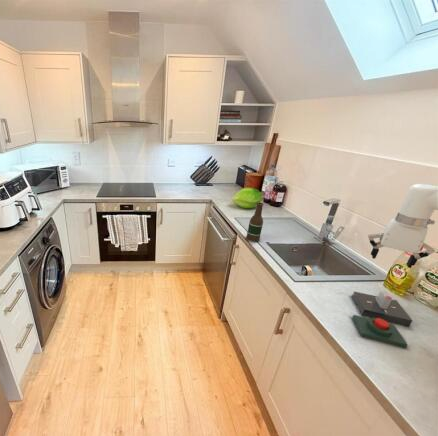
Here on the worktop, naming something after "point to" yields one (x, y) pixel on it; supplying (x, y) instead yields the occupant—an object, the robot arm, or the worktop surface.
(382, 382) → the worktop surface
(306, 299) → the worktop surface
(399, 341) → the green device base
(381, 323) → the power button
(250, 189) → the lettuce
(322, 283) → the worktop surface
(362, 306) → the panel
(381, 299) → the hob knob
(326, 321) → the worktop surface
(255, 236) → the beer bottle
